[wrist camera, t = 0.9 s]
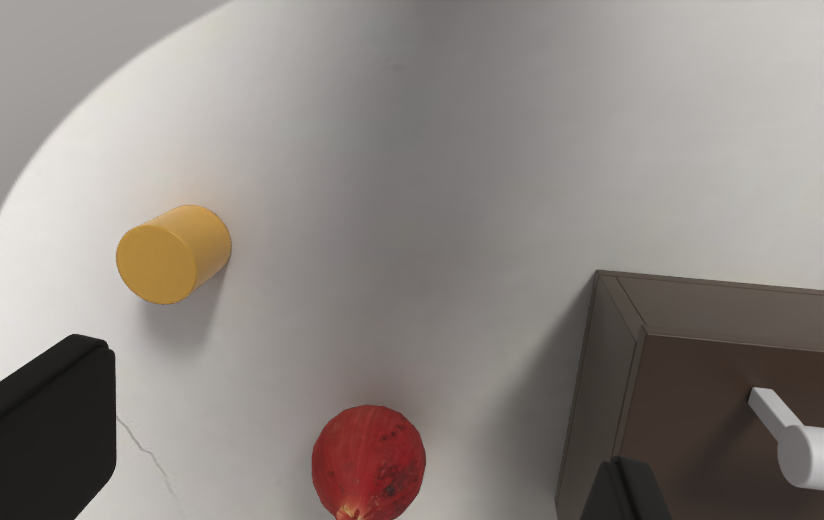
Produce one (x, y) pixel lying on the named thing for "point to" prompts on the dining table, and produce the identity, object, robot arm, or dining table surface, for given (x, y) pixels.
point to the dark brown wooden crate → (616, 342)
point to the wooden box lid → (728, 423)
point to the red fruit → (368, 464)
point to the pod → (173, 254)
